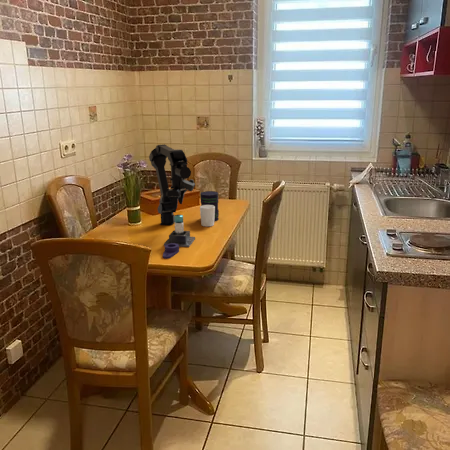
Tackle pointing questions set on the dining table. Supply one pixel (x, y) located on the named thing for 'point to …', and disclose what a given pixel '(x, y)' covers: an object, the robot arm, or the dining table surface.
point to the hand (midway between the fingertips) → (178, 206)
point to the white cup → (207, 215)
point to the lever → (170, 250)
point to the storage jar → (210, 201)
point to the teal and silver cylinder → (179, 225)
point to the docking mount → (180, 239)
